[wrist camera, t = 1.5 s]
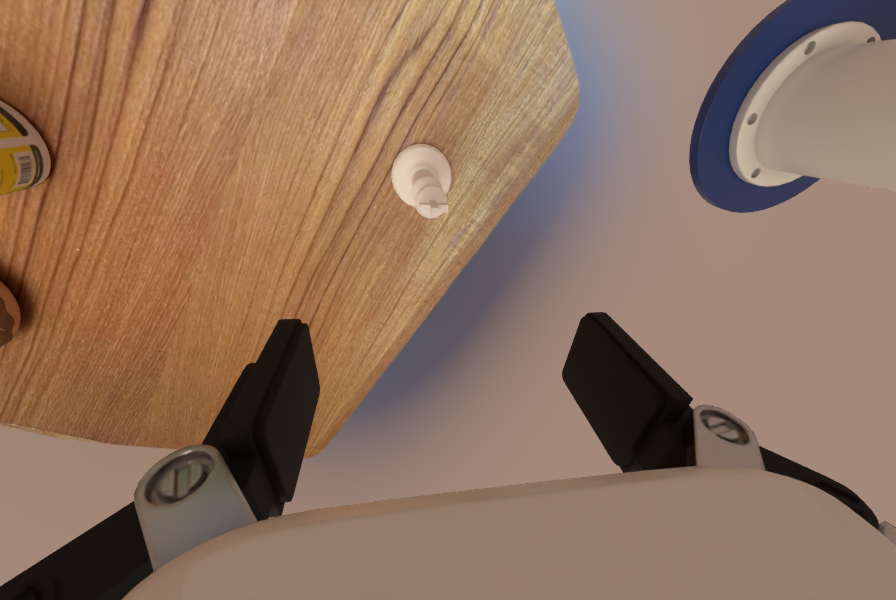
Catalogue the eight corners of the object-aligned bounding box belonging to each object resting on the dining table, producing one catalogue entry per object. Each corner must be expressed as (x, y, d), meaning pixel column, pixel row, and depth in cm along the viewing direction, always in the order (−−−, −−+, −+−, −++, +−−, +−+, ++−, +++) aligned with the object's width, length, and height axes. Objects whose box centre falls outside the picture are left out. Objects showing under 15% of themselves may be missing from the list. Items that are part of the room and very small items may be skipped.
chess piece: (449, 207, 28) (473, 252, 19) (392, 206, 27) (392, 253, 19) (452, 145, 25) (482, 165, 17) (390, 142, 24) (388, 162, 16)
